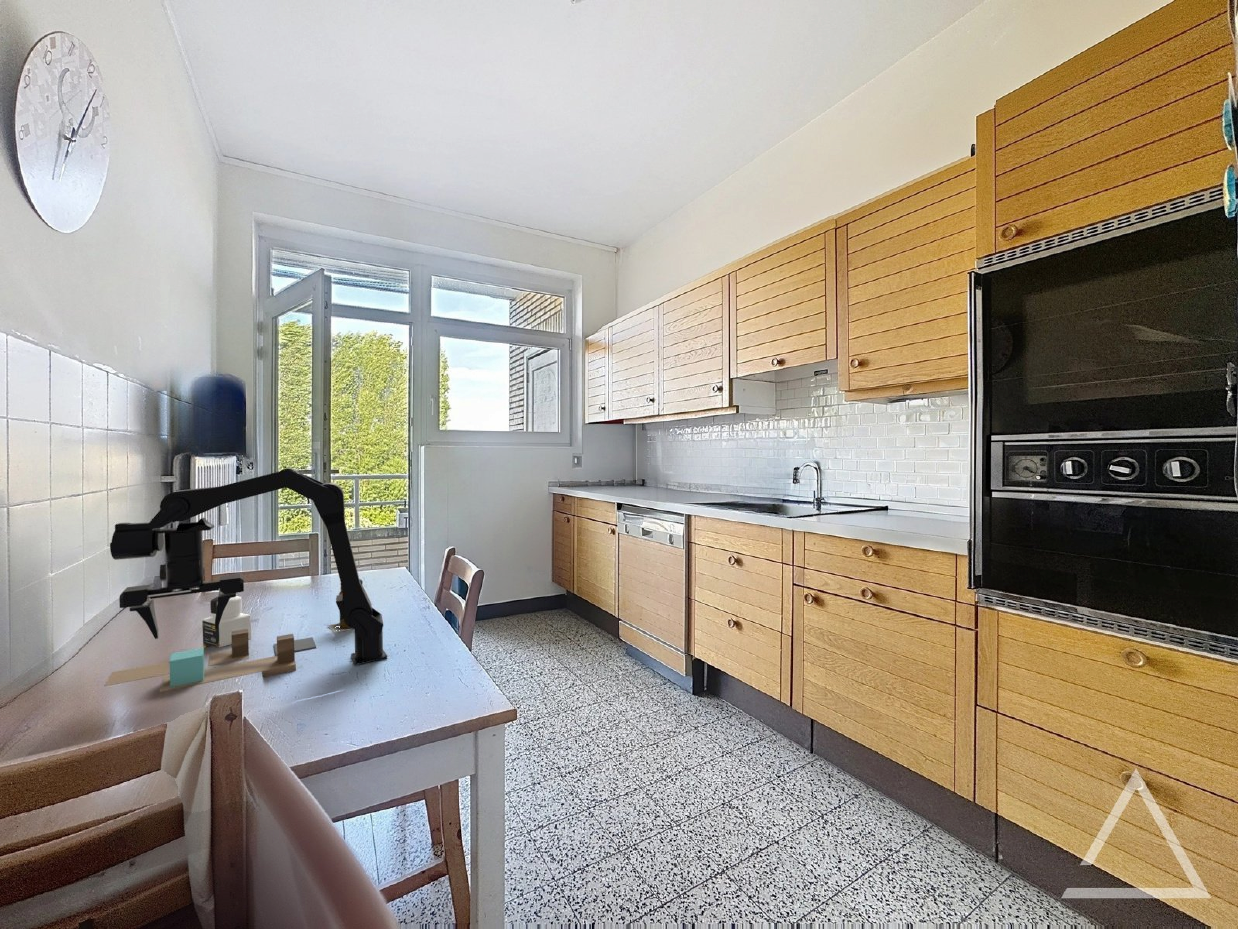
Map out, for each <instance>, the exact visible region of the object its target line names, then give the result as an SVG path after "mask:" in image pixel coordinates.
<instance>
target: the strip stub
mask: <svg viewBox="0 0 1238 929" xmlns="http://www.w3.org/2000/svg"><path fill="white" fill-rule="evenodd" d="M231 637H232V644H231V650H227V651H222V652H217V653H211V654H210V655H209V659H208V660H209V662H208V667H210V666H211V667H212V666H216V665H223V664H227V663H232V662H238V661H244V660H249V659H250V648H249V640H248V629H243V630H237V631H232V634H231Z"/></svg>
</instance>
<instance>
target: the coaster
mask: <svg viewBox="0 0 1238 929" xmlns="http://www.w3.org/2000/svg"><path fill="white" fill-rule="evenodd" d="M273 647H274V653H275V656H277V643H274V644H273ZM313 649H317V645H316V642H315V640H314V637H311V636H310V637H306V638H299V639H294V652H295V653H297V652H303V651H308V650H313Z"/></svg>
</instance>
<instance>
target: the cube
mask: <svg viewBox="0 0 1238 929" xmlns="http://www.w3.org/2000/svg"><path fill="white" fill-rule="evenodd" d="M170 655H171V656H170V658H169V661H168V662H169V663H170V674H169V677H170V687H174V686H179V685H184V684H189V683H194V682H199V681H203V679H204V673H205V670H206V669H205V648H203V647H200V648H195V649H190V650H184V651H178V652H173V653H171V654H170Z"/></svg>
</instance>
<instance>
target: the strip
mask: <svg viewBox="0 0 1238 929" xmlns="http://www.w3.org/2000/svg"><path fill="white" fill-rule="evenodd" d="M294 640H295V636H294V633H288V634H283V635H278V636H276V644H277V656H276V655H275V656H274V655H273V656H268V657H262V658H258V659H254V660H249V661H244V662H239V663H232V664H228V665H222V666H218V667H212V668H207V669H204V670H205V673H204V679H203V681H199V682H194V683H189V684H184V685H179V686H174V687H170V676H165V677H163V679H162V682H161V686H160V688H159V692H158V693H164V692H168V691H174V690H178V689H182V688H183V689H184V688H187V687H192V686H197V685H202V684H207V683H212V682H217V681H222V680H227V679H233V678H237V677H242V676H247V675H252V674H256V673H261V676H262V677H263V678H264V677H269V676H274V675H279V674H283V673H288V672H292V671H293V672H294V671H296V670H297V666H296V664H297V663H296V655H295V653H296V652H294Z"/></svg>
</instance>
